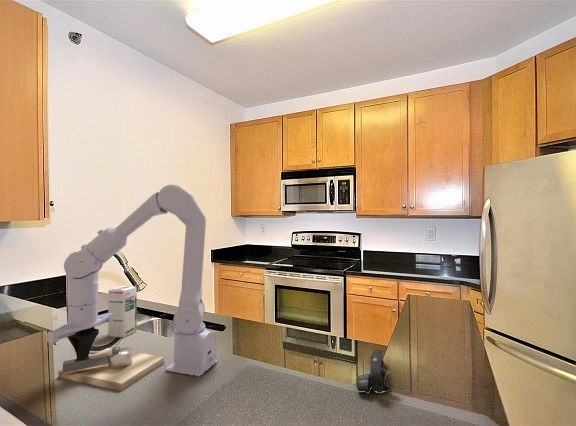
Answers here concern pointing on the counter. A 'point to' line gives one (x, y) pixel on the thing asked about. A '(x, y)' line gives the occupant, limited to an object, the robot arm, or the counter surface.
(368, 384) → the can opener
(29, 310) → the counter surface
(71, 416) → the counter surface
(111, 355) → the grey bar with knob
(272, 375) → the counter surface
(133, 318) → the syrup box
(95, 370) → the cutting board
